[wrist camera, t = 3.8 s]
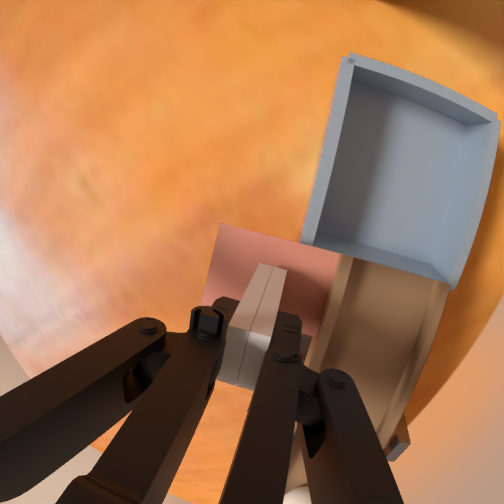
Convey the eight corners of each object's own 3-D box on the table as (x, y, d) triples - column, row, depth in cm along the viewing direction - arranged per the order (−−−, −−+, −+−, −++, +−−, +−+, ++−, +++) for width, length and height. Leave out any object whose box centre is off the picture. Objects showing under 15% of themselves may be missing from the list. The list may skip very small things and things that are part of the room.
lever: (224, 224, 19) (211, 220, 16) (443, 282, 17) (466, 288, 14) (167, 491, 20) (155, 513, 17) (324, 526, 18) (325, 548, 15)
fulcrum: (274, 317, 26) (252, 400, 16) (400, 346, 24) (427, 427, 15) (241, 425, 31) (219, 495, 21) (339, 445, 29) (337, 514, 20)
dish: (337, 70, 19) (343, 50, 14) (472, 120, 17) (501, 116, 13) (299, 236, 23) (296, 254, 19) (431, 272, 22) (452, 295, 18)
